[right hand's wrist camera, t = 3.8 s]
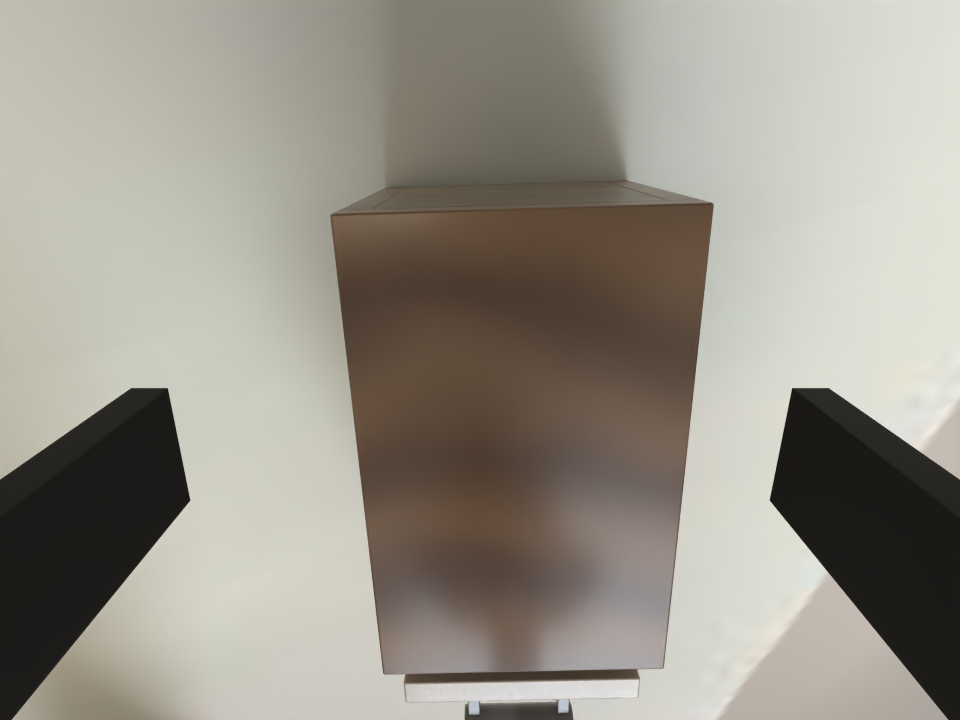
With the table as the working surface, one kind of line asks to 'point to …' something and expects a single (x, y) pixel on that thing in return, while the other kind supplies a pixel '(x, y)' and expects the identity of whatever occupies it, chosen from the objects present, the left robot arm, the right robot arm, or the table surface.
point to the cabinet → (522, 417)
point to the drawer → (521, 691)
